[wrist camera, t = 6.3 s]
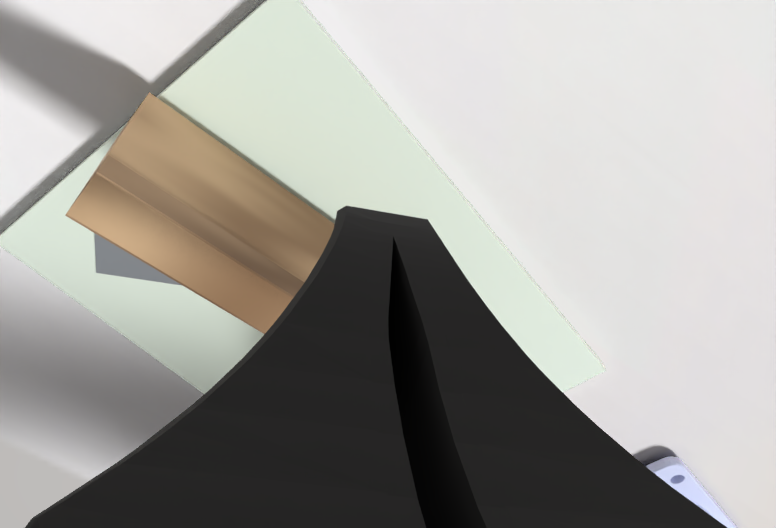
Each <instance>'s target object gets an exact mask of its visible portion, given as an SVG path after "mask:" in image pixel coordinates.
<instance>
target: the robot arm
mask: <svg viewBox="0 0 776 528" xmlns="http://www.w3.org/2000/svg"><path fill="white" fill-rule="evenodd" d="M25 528H738V527H737V526H736V525H735V524H734V522H733V521H732V520H731V519H730V518H729V516H728V515H727V514H726V513H725V512H724V510H723V509H722V508H721V507H720V506H719V504H718V503H717V502H716V501H715V500H714V498H713V497H712V496H711V495H710V494H709V492H708V491H707V490H706V489H705V488H704V486H703V485H702V484H701V483H700V482H699V480H698V479H697V478H696V477H695V476H694V475H693V473H692V472H691V471H690V470H689V469H688V467H687V466H686V465H685V464H684V463H683V461H682V460H681V459H679V458H678V457H673V456H669V457H665V458H662V459H660V460H658V461H655V462H653V463H651V464H649V465H646V466H644V465H643V464H642V463H641V462H639V461H638V460H637V459H636V458H634V457H633V456H632V455H631V454H630V453H629V452H627V451H626V450H625V449H624V448H623V447H622V446H620V445H619V444H618V443H617V442H616V441H615V440H613V439H612V438H611V437H610V436H609V435H608V434H606V433H605V432H604V431H603V430H602V429H601V428H599V427H598V426H597V425H596V424H595V423H594V422H593V421H592V420H591V419H590V418H588V417H587V416H586V415H585V414H584V413H583V412H582V411H581V410H580V409H579V408H578V407H577V406H576V405H574V404H573V403H572V402H571V401H570V400H569V399H568V397H567V396H566V395H565V394H564V393H563V392H562V391H561V390H560V389H559V388H558V387H557V386H556V385H555V384H554V383H553V382H552V381H551V380H550V379H549V378H548V377H547V376H546V375H545V374H544V373H543V372H542V371H541V370H540V369H539V368H538V367H537V366H536V365H535V364H534V362H533V361H532V360H531V359H530V358H529V357H528V356H527V355H526V354H525V352H524V351H523V350H522V349H521V348H520V346H519V345H518V344H517V343H516V342H515V340H514V339H513V338H512V337H511V336H510V335H509V333H508V332H507V331H506V330H505V329H504V327H503V326H502V325H501V324H500V322H499V321H498V320H497V319H496V317H495V316H494V315H493V313H492V312H491V311H490V310H489V308H488V307H487V306H486V304H485V303H484V302H483V300H482V299H481V298H480V296H479V295H478V293H477V292H476V291H475V289H474V288H473V286H472V285H471V284H470V282H469V281H468V279H467V278H466V277H465V275H464V274H463V272H462V271H461V269H460V268H459V266H458V265H457V263H456V262H455V260H454V259H453V257H452V256H451V254H450V253H449V251H448V249H447V248H446V246H445V245H444V243H443V242H442V240H441V239H440V237H439V236H438V234H437V233H436V231H435V230H434V228H433V227H432V225H431V224H430V222H429V221H428V219H423V218H417V217H411V216H405V215H399V214H393V213H387V212H381V211H376V210H370V209H364V208H358V207H352V206H345V207H343V208H341V209H340V210H338V211H337V214H336V219H335V224H334V229H333V232H332V234H331V237H330V239H329V241H328V243H327V245H326V247H325V249H324V251H323V253H322V255H321V256H320V258H319V260H318V261H317V263H316V265H315V266H314V268H313V270H312V271H311V273H310V275H309V276H308V278H307V279H306V281H305V282H304V284H303V285H302V287H301V288H300V290H299V291H298V292H297V294H296V295H295V296H294V298H293V299H292V300H291V302H290V303H289V304H288V306H287V307H286V308H285V310H284V311H283V312H282V314H281V315H280V316H279V318H278V319H277V320H276V321H275V322H274V324H273V325H272V326H271V327H270V328H269V330H268V331H267V332H266V333H265V334H264V335H263V337H262V338H261V339H260V340H259V341H258V342H257V343H256V344H255V345H254V346H253V347H252V349H251V350H250V351H249V352H248V353H247V354H246V355H245V356H244V357H243V358H242V359H241V360H240V361H239V362H238V363H237V364H236V365H235V366H234V367H233V368H232V369H231V370H230V371H229V372H228V373H227V374H226V375H225V376H224V377H222V378H221V379H220V380H219V381H218V382H217V383H216V384H215V385H214V386H213V387H212V388H211V389H210V390H209V391H208V392H206V393H205V394H204V395H203V396H202V397H201V398H200V399H199V400H197V401H196V402H195V403H194V404H193V405H192V406H190V407H189V408H188V409H187V410H185V411H184V412H183V413H182V414H180V415H179V416H178V417H176V418H175V419H174V420H173V421H171V422H170V423H169V424H168V425H166V426H165V427H164V428H162V429H161V430H160V431H159V432H157V433H156V434H155V435H153V436H152V437H151V438H150V439H148V440H147V441H146V442H145V443H143V444H142V445H141V446H139V447H138V448H137V449H136V450H134V451H133V452H131V453H130V454H129V455H127V456H126V457H124V458H123V459H122V460H120V461H119V462H117V463H116V464H114V465H113V466H111V467H110V468H108V469H107V470H105V471H104V472H102V473H101V474H99V475H98V476H96V477H95V478H93V479H92V480H90V481H88V482H87V483H85V484H84V485H82V486H81V487H79V488H78V489H76V490H75V491H73V492H72V493H70V494H69V495H67V496H66V497H64V498H63V499H61V500H59V501H58V502H56V503H55V504H53V505H52V506H50V507H49V508H47V509H46V510H44V511H42V512H41V513H39V514H38V515H36V516H35V517H33V518H32V519H31V520H30V522H29V523H28V525H27V526H26V527H25Z"/></svg>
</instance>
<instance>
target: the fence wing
mask: <svg viewBox="0 0 776 528" xmlns="http://www.w3.org/2000/svg"><path fill="white" fill-rule="evenodd" d="M65 216H67V217H68V218H70V219H72V220H73V221H75V222H77V223H78V224H80V225H82V226H84V227H85V228H87V229H89V230H90V231H92V232H94V233H95V234H97V235H99V236H100V237H102V238H104V239H105V240H107V241H109V242H110V243H112V244H114V245H115V246H117V247H119V248H120V249H122V250H124V251H125V252H127V253H129V254H131V255H132V256H134V257H136V258H137V259H139V260H141V261H142V262H144V263H146V264H147V265H149V266H151V267H152V268H154V269H156V270H157V271H159V272H161V273H162V274H164V275H166V276H167V277H169V278H171V279H172V280H174V281H176V282H178V283H179V284H181V285H183V286H184V287H186V288H188V289H189V290H191V291H193V292H194V293H196V294H198V295H199V296H201V297H203V298H204V299H206V300H208V301H209V302H211V303H213V304H214V305H216V306H218V307H219V308H221V309H223V310H225V311H226V312H228V313H230V314H231V315H233V316H235V317H236V318H238V319H240V320H241V321H243V322H245V323H246V324H248V325H250V326H251V327H253V328H255V329H256V330H258V331H260V332H261V333H263V334H265V333H266V332H267V331H268V330H269V328H270V327H271V326H272V325H273V324H274V322H275V321H276V320H277V319H278V318H279V316H280V315H281V314H282V312H283V311H284V310H285V308H286V307H287V306H288V304H289V303H290V302H291V300H292V299H293V298H294V296H295V295H296V294H297V292H298V291H299V290H300V288H301V287H302V285H303V284H304V282H305V281H306V279H307V278H308V276H309V275H310V273H311V271H312V270H313V268H314V266H315V265H316V263H317V261H318V260H319V258H320V256H321V255H322V253H323V251H324V249H325V247H326V245H327V243H328V241H329V239H330V237H331V234H332V232H333V229H334V223H332V222H331V221H330V220H328V219H327V218H325V217H324V216H323V215H321V214H320V213H318V212H317V211H316V210H314V209H313V208H311V207H310V206H308V205H307V204H306V203H304V202H303V201H301V200H300V199H299V198H297V197H296V196H294V195H293V194H292V193H290V192H289V191H287V190H286V189H285V188H283V187H282V186H280V185H279V184H278V183H276V182H275V181H273V180H272V179H271V178H269V177H268V176H266V175H265V174H263V173H262V172H261V171H259V170H258V169H256V168H255V167H254V166H252V165H251V164H249V163H248V162H247V161H245V160H244V159H242V158H241V157H240V156H238V155H237V154H235V153H234V152H233V151H231V150H230V149H228V148H227V147H225V146H224V145H223V144H221V143H220V142H218V141H217V140H216V139H214V138H213V137H211V136H210V135H209V134H207V133H206V132H204V131H203V130H202V129H200V128H199V127H197V126H196V125H195V124H193V123H192V122H190V121H189V120H188V119H186V118H185V117H183V116H182V115H180V114H179V113H178V112H176V111H175V110H173V109H172V108H171V107H169V106H168V105H166V104H165V103H164V102H162V101H161V100H159V99H158V98H157V97H155V96H154V95H152V94H151V93H150V92H149V93H148V95H147V96H146V98H145V99H144V100H143V102H142V103H141V104H140V106H139V107H138V109H137V110H136V111H135V113H134V114H133V116H132V117H131V118H130V120H129V121H128V122H127V124H126V125H125V127H124V128H123V130H122V131H121V133H120V134H119V136H118V137H117V139H116V140H115V141H114V143H113V144H112V146H111V147H110V149H109V150H108V152H107V153H106V155H105V156H104V158H103V159H102V161H101V162H100V164H99V165H98V167H97V168H96V170H95V171H94V173H93V174H92V176H91V177H90V179H89V180H88V182H87V183H86V185H85V186H84V188H83V189H82V191H81V192H80V194H79V195H78V197H77V198H76V200H75V201H74V203H73V204H72V206H71V207H70V209H69V210H68V212H67V213H66V215H65Z"/></svg>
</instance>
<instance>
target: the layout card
mask: <svg viewBox="0 0 776 528" xmlns="http://www.w3.org/2000/svg"><path fill="white" fill-rule="evenodd" d="M156 97H157V98H158V99H159V100H161V101H162V102H164V103H165V104H166V105H168V106H169V107H171V108H172V109H173V110H175V111H176V112H178V113H179V114H180V115H182V116H183V117H185V118H186V119H188V120H189V121H190V122H192V123H193V124H195V125H196V126H197V127H199V128H200V129H202V130H203V131H204V132H206V133H207V134H209V135H210V136H211V137H213V138H214V139H216V140H217V141H218V142H220V143H221V144H223V145H224V146H225V147H227V148H228V149H230V150H231V151H233V152H234V153H235V154H237V155H238V156H240V157H241V158H242V159H244V160H245V161H247V162H248V163H249V164H251V165H252V166H254V167H255V168H256V169H258V170H259V171H261V172H262V173H263V174H265V175H266V176H268V177H269V178H271V179H272V180H273V181H275V182H276V183H278V184H279V185H280V186H282V187H283V188H285V189H286V190H287V191H289V192H290V193H292V194H293V195H294V196H296V197H297V198H299V199H300V200H301V201H303V202H304V203H306V204H307V205H308V206H310V207H311V208H313V209H314V210H316V211H317V212H318V213H320V214H321V215H323V216H324V217H325V218H327V219H328V220H330V221H331V222H332V223H334V224H335V219H336V214H337V211H338V210H340V209H341V208H343V207H345V206H352V207H358V208H364V209H370V210H376V211H381V212H387V213H393V214H399V215H405V216H411V217H417V218H423V219H428V221H429V222H430V224H431V225H432V227H433V228H434V230H435V231H436V233H437V234H438V236H439V237H440V239H441V240H442V242H443V243H444V245H445V246H446V248H447V249H448V251H449V253H450V254H451V256H452V257H453V259H454V260H455V262H456V263H457V265H458V266H459V268H460V269H461V271H462V272H463V274H464V275H465V277H466V278H467V279H468V281H469V282H470V284H471V285H472V286H473V288H474V289H475V291H476V292H477V293H478V295H479V296H480V298H481V299H482V300H483V302H484V303H485V304H486V306H487V307H488V308H489V310H490V311H491V312H492V313H493V315H494V316H495V317H496V319H497V320H498V321H499V322H500V324H501V325H502V326H503V327H504V329H505V330H506V331H507V332H508V333H509V335H510V336H511V337H512V338H513V339H514V340H515V342H516V343H517V344H518V345H519V346H520V348H521V349H522V350H523V351H524V352H525V354H526V355H527V356H528V357H529V358H530V359H531V360H532V361H533V362H534V364H535V365H536V366H537V367H538V368H539V369H540V370H541V371H542V372H543V373H544V374H545V375H546V376H547V377H548V378H549V379H550V380H551V381H552V382H553V383H554V384H555V385H556V386H557V387H558V388H559V389H560V390H561V391H562V392H565V391H567V390H569V389H571V388H573V387H575V386H577V385H579V384H581V383H583V382H585V381H587V380H589V379H591V378H593V377H595V376H597V375H599V374H601V373H603V372H605V371H606V368H605V366H604V364H603V363H602V362H601V360H600V359H599V358H598V357H597V356H596V354H595V353H594V352H593V351H592V350H591V348H590V347H589V346H588V345H587V344H586V342H585V341H584V340H583V339H582V338H581V336H580V335H579V334H578V333H577V332H576V330H575V329H574V328H573V327H572V326H571V324H570V323H569V322H568V321H567V320H566V318H565V317H564V316H563V315H562V314H561V312H560V311H559V310H558V309H557V308H556V306H555V305H554V304H553V303H552V302H551V300H550V299H549V298H548V297H547V296H546V294H545V293H544V292H543V291H542V290H541V288H540V287H539V286H538V285H537V284H536V282H535V281H534V280H533V279H532V278H531V276H530V275H529V274H528V273H527V272H526V270H525V269H524V268H523V267H522V266H521V264H520V263H519V262H518V261H517V260H516V258H515V257H514V256H513V255H512V254H511V252H510V251H509V250H508V249H507V248H506V246H505V245H504V244H503V243H502V242H501V240H500V239H499V238H498V237H497V236H496V234H495V233H494V232H493V231H492V230H491V228H490V227H489V226H488V225H487V224H486V222H485V221H484V220H483V219H482V218H481V216H480V215H479V214H478V213H477V212H476V210H475V209H474V208H473V207H472V206H471V204H470V203H469V202H468V201H467V200H466V198H465V197H464V196H463V195H462V194H461V192H460V191H459V190H458V189H457V188H456V186H455V185H454V184H453V183H452V182H451V180H450V179H449V178H448V177H447V176H446V174H445V173H444V172H443V171H442V170H441V168H440V167H439V166H438V165H437V164H436V162H435V161H434V160H433V159H432V158H431V156H430V155H429V154H428V153H427V152H426V150H425V149H424V148H423V147H422V146H421V144H420V143H419V142H418V141H417V140H416V138H415V137H414V136H413V135H412V134H411V132H410V131H409V130H408V129H407V128H406V126H405V125H404V124H403V123H402V122H401V120H400V119H399V118H398V117H397V116H396V114H395V113H394V112H393V111H392V110H391V108H390V107H389V106H388V105H387V104H386V102H385V101H384V100H383V99H382V98H381V96H380V95H379V94H378V93H377V92H376V90H375V89H374V88H373V87H372V86H371V84H370V83H369V82H368V81H367V80H366V78H365V77H364V76H363V75H362V74H361V72H360V71H359V70H358V69H357V68H356V66H355V65H354V64H353V63H352V62H351V60H350V59H349V58H348V57H347V56H346V54H345V53H344V52H343V51H342V50H341V48H340V47H339V46H338V45H337V44H336V42H335V41H334V40H333V39H332V38H331V36H330V35H329V34H328V33H327V32H326V30H325V29H324V28H323V27H322V26H321V24H320V23H319V22H318V21H317V20H316V18H315V17H314V16H313V15H312V14H311V12H310V11H309V10H308V9H307V8H306V6H305V5H304V4H303V3H302V2H301V0H265V1H264V2H263V3H262V4H261V5H259V6H258V7H257V8H256V9H255V10H254V11H253V12H252V13H250V14H249V15H248V16H247V17H246V18H245V19H244V20H242V21H241V22H240V23H239V24H238V25H237V26H236V27H235V28H233V29H232V30H231V31H230V32H229V33H228V34H227V35H225V36H224V37H223V38H222V39H221V40H220V41H219V42H218V43H216V44H215V45H214V46H213V47H212V48H211V49H210V50H209V51H207V52H206V53H205V54H204V55H203V56H202V57H201V58H199V59H198V60H197V61H196V62H195V63H194V64H193V65H192V66H190V67H189V68H188V69H187V70H186V71H185V72H184V73H182V74H181V75H180V76H179V77H178V78H177V79H176V80H175V81H173V82H172V83H171V84H170V85H169V86H168V87H167V88H165V89H164V90H163V91H162V92H161V93H160V94H159V95H158V96H156ZM126 124H127V123H126ZM126 124H125V125H126ZM125 125H124V126H122V127H121V128H120V129H119V130H118V131H117V132H116V133H115V134H113V135H112V136H111V137H110V138H109V139H108V140H107V141H105V142H104V143H103V144H102V145H101V146H100V147H99V148H98V149H96V150H95V151H94V152H93V153H92V154H91V155H90V156H88V157H87V158H86V159H85V160H84V161H83V162H82V163H81V164H79V165H78V166H77V167H76V168H75V169H74V170H73V171H71V172H70V173H69V174H68V175H67V176H66V177H65V178H64V179H62V180H61V181H60V182H59V183H58V184H57V185H56V186H54V187H53V188H52V189H51V190H50V191H49V192H48V193H47V194H45V195H44V196H43V197H42V198H41V199H40V200H39V201H37V202H36V203H35V204H34V205H33V206H32V207H31V208H30V209H28V210H27V211H26V212H25V213H24V214H23V215H22V216H21V217H19V218H18V219H17V220H16V221H15V222H14V223H13V224H11V225H10V226H9V227H8V228H7V229H6V230H5V231H4V232H2V233H1V234H0V246H1V247H2V248H3V249H5V250H6V251H7V252H9V253H10V254H12V255H13V256H14V257H16V258H17V259H18V260H20V261H21V262H23V263H24V264H25V265H27V266H28V267H29V268H31V269H32V270H34V271H35V272H36V273H38V274H39V275H40V276H42V277H43V278H45V279H46V280H47V281H49V282H50V283H51V284H53V285H54V286H56V287H57V288H58V289H60V290H61V291H62V292H64V293H65V294H67V295H68V296H69V297H71V298H72V299H73V300H75V301H76V302H78V303H79V304H80V305H82V306H83V307H84V308H86V309H87V310H89V311H90V312H91V313H93V314H94V315H95V316H97V317H98V318H100V319H101V320H102V321H104V322H105V323H106V324H108V325H109V326H111V327H112V328H113V329H115V330H116V331H117V332H119V333H120V334H122V335H123V336H124V337H126V338H127V339H128V340H130V341H131V342H133V343H134V344H135V345H137V346H138V347H139V348H141V349H142V350H144V351H145V352H146V353H148V354H149V355H150V356H152V357H153V358H155V359H156V360H157V361H159V362H160V363H161V364H163V365H164V366H166V367H167V368H168V369H170V370H171V371H172V372H174V373H175V374H177V375H178V376H179V377H181V378H182V379H183V380H185V381H186V382H188V383H189V384H190V385H192V386H193V387H194V388H196V389H197V390H199V391H200V392H201V393H203V394H205V393H206V392H208V391H209V390H210V389H211V388H212V387H213V386H214V385H215V384H216V383H217V382H218V381H219V380H220V379H221V378H222V377H224V376H225V375H226V374H227V373H228V372H229V371H230V370H231V369H232V368H233V367H234V366H235V365H236V364H237V363H238V362H239V361H240V360H241V359H242V358H243V357H244V356H245V355H246V354H247V353H248V352H249V351H250V350H251V349H252V347H253V346H254V345H255V344H256V343H257V342H258V341H259V340H260V339H261V338H262V337H263V335H264V334H263V333H261V332H260V331H258V330H256V329H255V328H253V327H251V326H250V325H248V324H246V323H245V322H243V321H241V320H240V319H238V318H236V317H235V316H233V315H231V314H230V313H228V312H226V311H225V310H223V309H221V308H219V307H218V306H216V305H214V304H213V303H211V302H209V301H208V300H206V299H204V298H203V297H201V296H199V295H198V294H196V293H194V292H193V291H191V290H189V289H188V288H186V287H184V286H183V285H181V284H179V283H178V282H176V281H174V280H172V279H171V278H169V277H167V276H166V275H164V274H162V273H161V272H159V271H157V270H156V269H154V268H152V267H151V266H149V265H147V264H146V263H144V262H142V261H141V260H139V259H137V258H136V257H134V256H132V255H131V254H129V253H127V252H125V251H124V250H122V249H120V248H119V247H117V246H115V245H114V244H112V243H110V242H109V241H107V240H105V239H104V238H102V237H100V236H99V235H97V234H95V233H94V232H92V231H90V230H89V229H87V228H85V227H84V226H82V225H80V224H78V223H77V222H75V221H73V220H72V219H70V218H68V217H67V216H65V215H66V213H67V212H68V210H69V209H70V207H71V206H72V204H73V203H74V201H75V200H76V198H77V197H78V195H79V194H80V192H81V191H82V189H83V188H84V186H85V185H86V183H87V182H88V180H89V179H90V177H91V176H92V174H93V173H94V171H95V170H96V168H97V167H98V165H99V164H100V162H101V161H102V159H103V158H104V156H105V155H106V153H107V152H108V150H109V149H110V147H111V146H112V144H113V143H114V141H115V140H116V139H117V137H118V136H119V134H120V133H121V131H122V130H123V128H124V127H125Z"/></svg>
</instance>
